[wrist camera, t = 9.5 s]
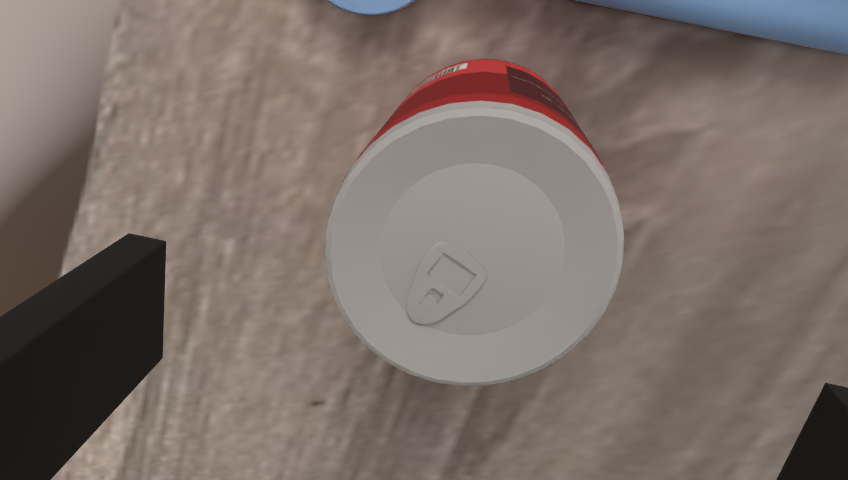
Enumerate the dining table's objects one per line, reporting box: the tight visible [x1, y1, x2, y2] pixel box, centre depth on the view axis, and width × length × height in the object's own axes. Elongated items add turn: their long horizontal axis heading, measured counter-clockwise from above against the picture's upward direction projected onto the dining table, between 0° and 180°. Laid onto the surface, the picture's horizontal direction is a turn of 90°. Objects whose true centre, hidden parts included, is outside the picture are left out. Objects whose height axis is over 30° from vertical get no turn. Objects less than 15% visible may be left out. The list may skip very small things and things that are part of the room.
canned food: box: [325, 59, 624, 386], centre depth 21 cm, size 8×8×11 cm
